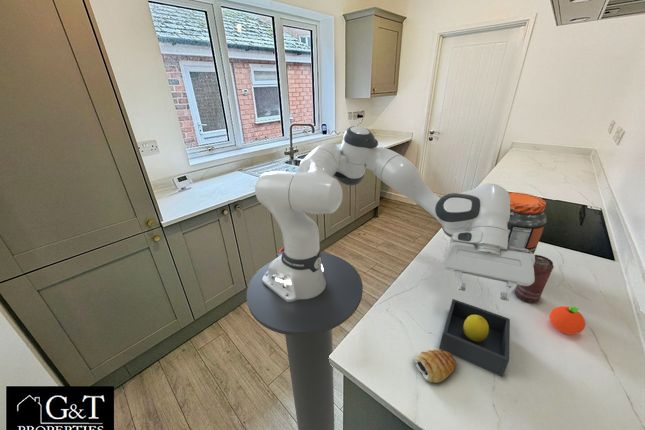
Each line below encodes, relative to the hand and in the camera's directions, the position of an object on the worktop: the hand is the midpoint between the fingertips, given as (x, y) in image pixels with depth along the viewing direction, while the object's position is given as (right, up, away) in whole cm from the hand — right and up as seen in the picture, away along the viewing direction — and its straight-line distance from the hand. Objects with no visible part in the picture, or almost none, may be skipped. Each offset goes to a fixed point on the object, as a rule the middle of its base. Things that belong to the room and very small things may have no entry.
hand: (482, 295), depth 65 cm
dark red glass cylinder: (+23, -6, +16) cm, 29 cm away
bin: (-1, -13, +3) cm, 13 cm away
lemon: (-1, -12, +3) cm, 13 cm away
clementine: (+25, -11, +5) cm, 28 cm away
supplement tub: (+26, +2, +31) cm, 41 cm away
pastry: (-14, -16, -3) cm, 22 cm away
